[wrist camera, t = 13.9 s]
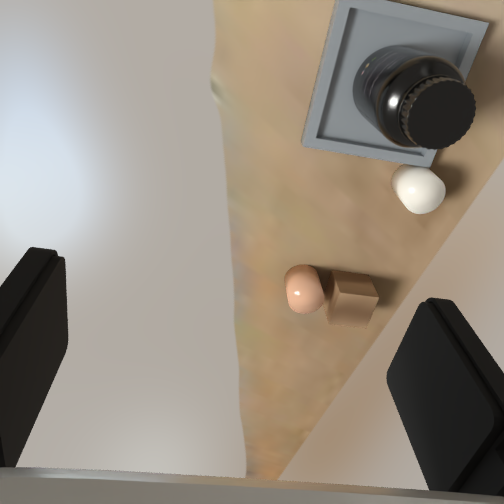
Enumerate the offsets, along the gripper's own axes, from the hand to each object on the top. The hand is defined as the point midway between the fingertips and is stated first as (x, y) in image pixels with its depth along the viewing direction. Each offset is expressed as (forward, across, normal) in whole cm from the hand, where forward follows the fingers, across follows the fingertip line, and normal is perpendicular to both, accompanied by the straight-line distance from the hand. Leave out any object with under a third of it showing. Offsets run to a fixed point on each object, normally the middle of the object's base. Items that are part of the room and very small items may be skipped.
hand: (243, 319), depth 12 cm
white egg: (+33, -20, +6) cm, 39 cm away
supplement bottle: (+33, -14, -2) cm, 36 cm away
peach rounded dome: (+33, -12, +20) cm, 41 cm away
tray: (+33, -14, -2) cm, 36 cm away
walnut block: (+33, -17, +21) cm, 43 cm away
